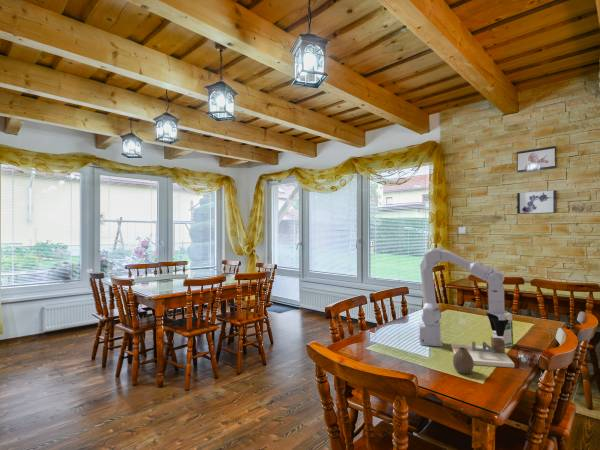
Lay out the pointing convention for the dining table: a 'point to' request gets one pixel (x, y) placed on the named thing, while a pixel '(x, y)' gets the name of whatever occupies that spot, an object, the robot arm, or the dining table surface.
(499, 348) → the walnut block
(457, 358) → the vase
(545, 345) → the dining table surface
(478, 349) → the bent wire
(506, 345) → the syrup box
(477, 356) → the board
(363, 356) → the dining table surface
